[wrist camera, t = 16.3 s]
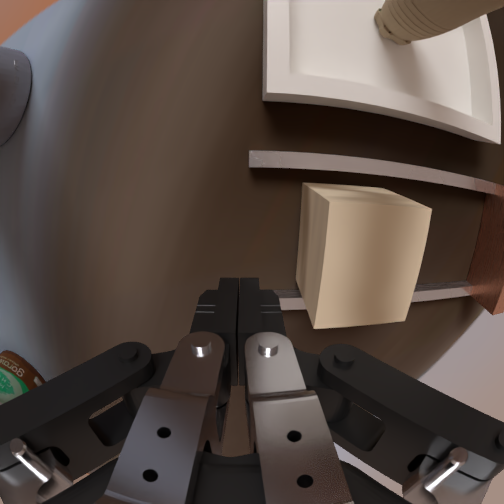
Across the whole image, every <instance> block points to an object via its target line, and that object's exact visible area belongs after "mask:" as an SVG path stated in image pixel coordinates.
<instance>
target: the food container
mask: <svg viewBox="0 0 504 504" xmlns="http://www.w3.org/2000/svg"><path fill="white" fill-rule="evenodd" d="M44 383H46V381H45V380H44V379H43V378H42V376H41V375H40V374H39V373H38V372H37V371H36V370H35V368H34V367H33V366H32V365H31V364H29V363H28V362H27V361H26V360H25V359H23V358H22V357H21V356H19V355H18V354H16V353H14V352H11V351H8V350H6V351H3V352H2V353H1V354H0V405H1V404H3V403H5V402H8V401H10V400H12V399H14V398H16V397H18V396H20V395H22V394H24V393H26V392H28V391H30V390H32V389H34V388H36V387H38V386H40V385H42V384H44Z"/></svg>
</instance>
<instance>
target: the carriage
mask: <svg viewBox="0 0 504 504" xmlns="http://www.w3.org/2000/svg"><path fill="white" fill-rule="evenodd" d="M431 212H432V209H431V208H428V207H426V206H424V205H422V204H420V203H417V202H415V201H413V200H411V199H408V198H406V197H404V196H401V195H399V194H396V193H394V192H392V191H389V190H387V189H384V188H376V187H365V186H353V185H339V184H322V183H302V201H301V217H300V232H299V245H298V258H297V270H296V282H297V284H298V287H299V290H300V292H301V295H302V298H303V300H304V303H305V306H306V309H307V311H308V314H309V317H310V320H311V323H312V325H313V328H314V329H322V328H337V327H350V326H361V325H372V324H381V323H390V322H399V321H405V318H406V315H407V312H408V309H409V306H410V303H411V299H412V296H413V292H414V289H415V285H416V282H417V278H418V274H419V270H420V266H421V262H422V258H423V253H424V249H425V244H426V239H427V234H428V229H429V224H430V218H431Z"/></svg>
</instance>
